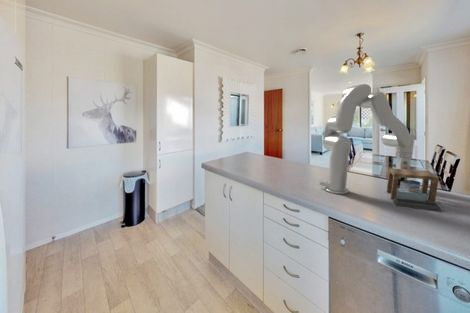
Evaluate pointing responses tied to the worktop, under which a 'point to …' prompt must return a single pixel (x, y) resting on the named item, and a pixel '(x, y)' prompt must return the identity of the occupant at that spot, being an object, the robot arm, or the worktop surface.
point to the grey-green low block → (412, 195)
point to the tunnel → (418, 174)
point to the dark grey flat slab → (417, 204)
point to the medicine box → (410, 186)
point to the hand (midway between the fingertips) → (400, 185)
